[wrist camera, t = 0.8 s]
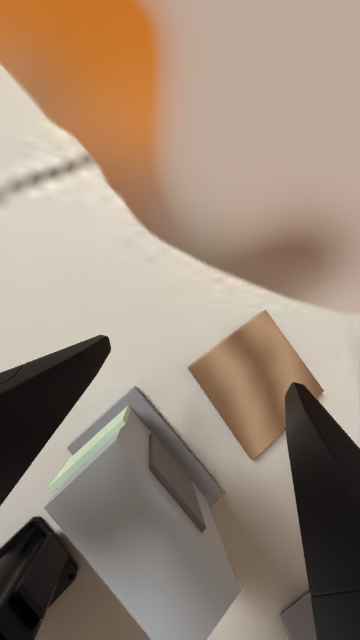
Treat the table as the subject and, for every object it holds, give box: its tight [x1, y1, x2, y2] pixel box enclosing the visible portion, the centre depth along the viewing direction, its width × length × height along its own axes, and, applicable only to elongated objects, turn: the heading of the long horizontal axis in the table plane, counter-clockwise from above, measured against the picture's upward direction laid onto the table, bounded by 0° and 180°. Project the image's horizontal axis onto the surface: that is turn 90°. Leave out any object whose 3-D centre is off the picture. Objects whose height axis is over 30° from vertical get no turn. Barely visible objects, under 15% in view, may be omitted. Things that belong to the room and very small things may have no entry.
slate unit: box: [44, 386, 241, 640], centre depth 15 cm, size 8×14×8 cm, turn 41°
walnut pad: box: [188, 310, 324, 461], centre depth 22 cm, size 12×12×1 cm
